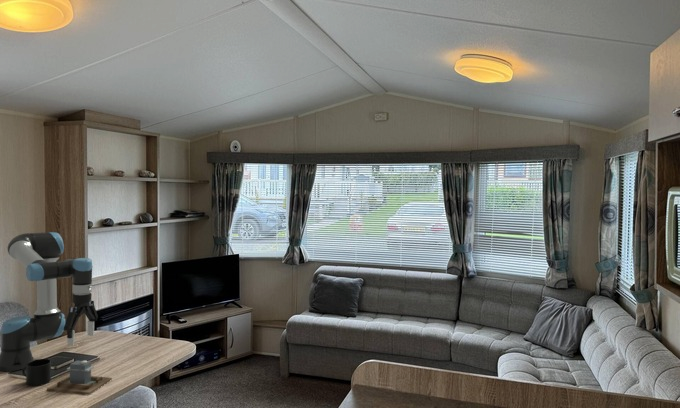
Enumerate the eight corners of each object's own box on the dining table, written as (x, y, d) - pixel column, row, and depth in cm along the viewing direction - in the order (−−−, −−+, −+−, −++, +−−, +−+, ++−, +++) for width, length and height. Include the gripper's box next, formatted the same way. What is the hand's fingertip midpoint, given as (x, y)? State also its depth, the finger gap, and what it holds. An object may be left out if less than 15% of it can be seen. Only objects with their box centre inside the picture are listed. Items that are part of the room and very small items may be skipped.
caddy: (46, 390, 207) (46, 385, 206) (71, 376, 222) (71, 371, 222) (89, 394, 204) (89, 389, 204) (111, 379, 220) (111, 374, 220)
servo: (66, 383, 212) (67, 362, 211) (73, 379, 216) (73, 358, 216) (87, 385, 211) (87, 363, 210) (93, 381, 215) (94, 360, 215)
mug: (28, 377, 219) (29, 358, 219) (55, 378, 220) (55, 359, 219) (15, 386, 210) (15, 366, 210) (42, 386, 210) (43, 366, 210)
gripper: (71, 300, 199) (70, 350, 200) (106, 287, 224) (105, 332, 225) (54, 299, 200) (53, 348, 201) (91, 286, 225) (90, 331, 225)
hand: (81, 340), depth 213 cm, fingers open, 13 cm apart
